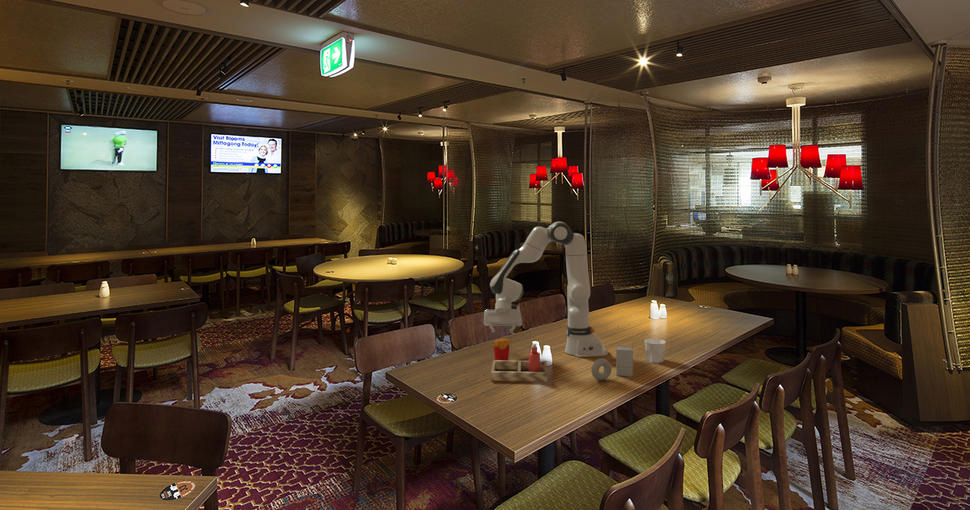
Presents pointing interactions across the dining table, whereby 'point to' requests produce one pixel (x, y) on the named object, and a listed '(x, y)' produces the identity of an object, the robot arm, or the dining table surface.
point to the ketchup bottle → (534, 360)
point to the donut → (606, 371)
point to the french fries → (501, 349)
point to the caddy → (518, 375)
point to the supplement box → (624, 360)
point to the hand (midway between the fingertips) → (502, 332)
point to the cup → (654, 350)
